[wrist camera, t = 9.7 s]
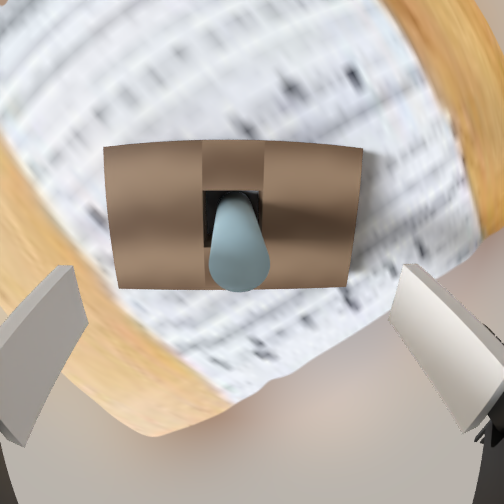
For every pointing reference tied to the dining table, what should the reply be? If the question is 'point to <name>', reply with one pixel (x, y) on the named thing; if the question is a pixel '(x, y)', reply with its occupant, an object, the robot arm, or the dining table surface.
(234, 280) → the peg
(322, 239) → the hole block
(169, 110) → the dining table surface
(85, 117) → the dining table surface
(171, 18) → the dining table surface
